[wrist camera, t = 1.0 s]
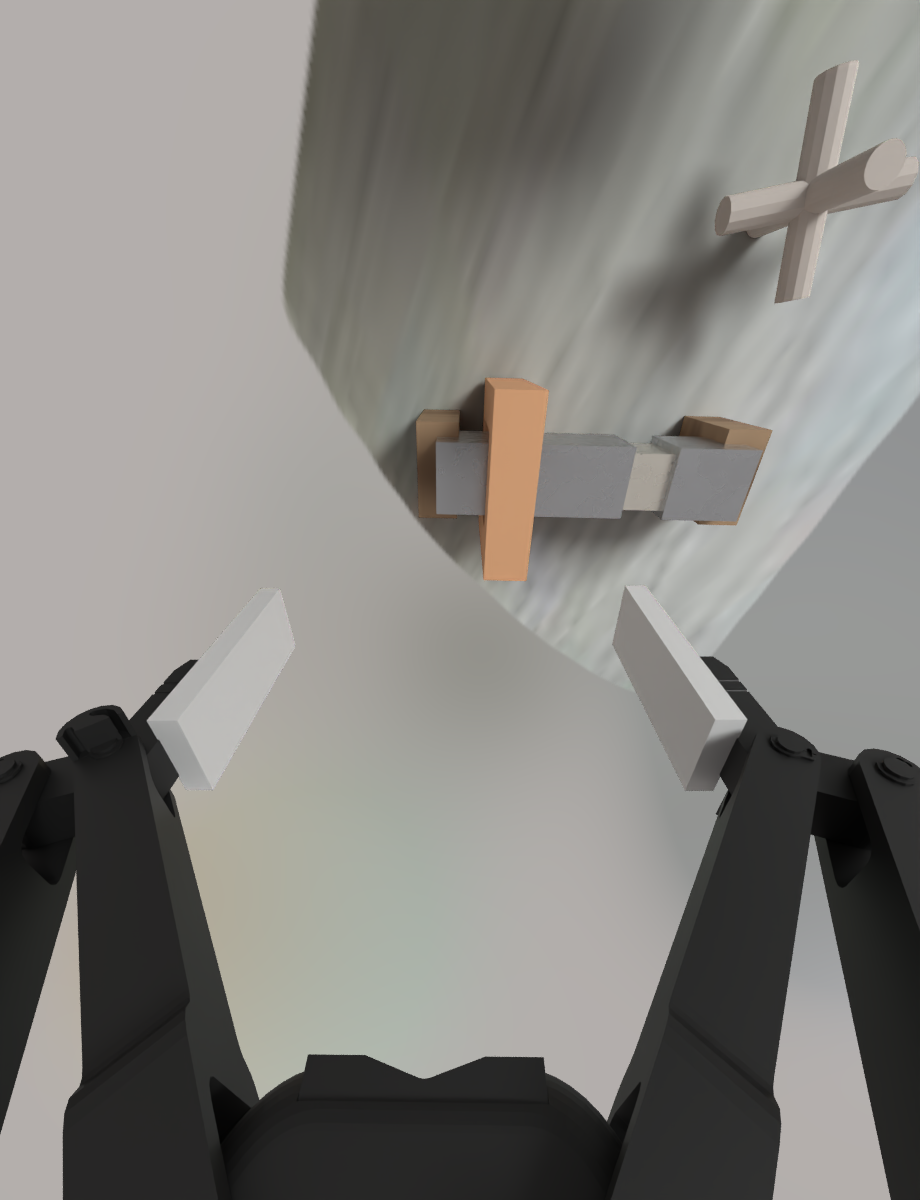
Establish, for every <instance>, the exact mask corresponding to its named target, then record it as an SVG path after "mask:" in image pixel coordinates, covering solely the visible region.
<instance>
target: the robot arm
mask: <svg viewBox="0 0 920 1200" xmlns="http://www.w3.org/2000/svg"><path fill="white" fill-rule="evenodd" d="M612 645H613V647H614V649H615V651H616V653H617V655H618V657H619V659H620V661H621V663H622V665H623V667H624V669H625V671H626V673H627V675H628V677H629V679H630V681H631V683H632V685H633V687H634V689H635V691H636V693H637V695H638V697H639V699H640V701H641V703H642V705H643V707H644V709H645V711H646V713H647V715H648V717H649V719H650V721H651V723H652V725H653V727H654V729H655V731H656V733H657V735H658V737H659V739H660V741H661V743H662V745H663V747H664V749H665V751H666V753H667V755H668V757H669V759H670V761H671V763H672V765H673V767H674V769H675V771H676V773H677V775H678V777H679V779H680V781H681V783H682V785H683V787H684V789H685V790H686V791H713V790H714V788H715V786H716V784H717V782H718V780H719V778H720V777H721V778H722V780H723V782H724V783H725V785H726V787H727V788H728V791H727V793H726V795H725V797H724V799H723V801H722V803H721V805H720V807H719V809H718V811H717V813H716V814H717V815H718V817H717V820H716V822H715V825H714V828H713V831H712V834H711V837H710V840H709V842H708V845H707V848H706V851H705V854H704V857H703V859H702V862H701V865H700V868H699V871H698V873H697V876H696V880H695V882H694V885H693V888H692V890H691V893H690V896H689V899H688V902H687V905H686V908H685V910H684V913H683V916H682V919H681V922H680V925H679V928H678V931H677V933H676V936H675V939H674V942H673V945H672V947H671V950H670V953H669V956H668V959H667V961H666V964H665V968H664V970H663V973H662V976H661V978H660V982H659V985H658V987H657V990H656V993H655V996H654V999H653V1001H652V1004H651V1007H650V1010H649V1012H648V1016H647V1018H646V1021H645V1024H644V1027H643V1030H642V1032H641V1035H640V1039H639V1041H638V1044H637V1046H636V1049H635V1052H634V1054H633V1057H632V1059H631V1062H630V1064H629V1067H628V1069H627V1071H626V1073H625V1075H624V1078H623V1080H622V1083H621V1085H620V1088H619V1090H618V1093H617V1096H616V1098H615V1101H614V1104H613V1106H612V1109H611V1112H610V1115H609V1117H608V1120H607V1121H606V1120H605V1119H604V1118H603V1116H602V1115H601V1114H600V1113H599V1111H598V1110H597V1109H596V1108H595V1107H593V1105H592V1104H591V1103H590V1102H589V1101H588V1100H587V1099H586V1098H585V1097H583V1096H582V1095H581V1094H580V1093H579V1092H577V1091H576V1090H575V1089H574V1088H572V1087H571V1086H570V1085H568V1084H566V1083H565V1082H563V1081H561V1080H560V1079H558V1078H556V1077H554V1076H551V1075H549V1074H547V1073H545V1066H544V1058H543V1057H542V1058H541V1057H483V1058H481V1059H478V1060H476V1061H473V1062H470V1063H468V1064H465V1065H463V1066H460V1067H457V1068H455V1069H452V1070H449V1071H447V1072H444V1073H441V1074H439V1075H436V1076H434V1077H431V1078H428V1079H421V1078H418V1077H415V1076H413V1075H410V1074H408V1073H406V1072H403V1071H401V1070H399V1069H396V1068H394V1067H392V1066H389V1065H387V1064H385V1063H382V1062H380V1061H378V1060H375V1059H373V1058H371V1057H368V1056H366V1055H308V1057H307V1062H306V1067H305V1071H304V1072H302V1073H299V1074H297V1075H295V1076H293V1077H291V1078H289V1079H288V1080H286V1081H284V1082H282V1083H281V1084H279V1085H278V1086H277V1087H275V1088H274V1089H273V1090H271V1091H270V1092H268V1093H267V1094H266V1095H265V1096H264V1097H263V1098H262V1099H260V1100H259V1097H258V1094H257V1091H256V1087H255V1084H254V1081H253V1079H252V1076H251V1073H250V1072H249V1069H248V1067H247V1065H246V1062H245V1060H244V1058H243V1056H242V1053H241V1050H240V1047H239V1044H238V1040H237V1036H236V1032H235V1029H234V1026H233V1021H232V1017H231V1013H230V1009H229V1006H228V1002H227V998H226V994H225V990H224V986H223V982H222V978H221V975H220V971H219V967H218V963H217V959H216V955H215V951H214V948H213V944H212V940H211V936H210V932H209V928H208V924H207V920H206V917H205V913H204V909H203V906H202V901H201V898H200V893H199V890H198V886H197V882H196V878H195V874H194V871H193V867H192V862H191V859H190V855H189V851H188V847H187V843H186V839H185V835H184V832H183V828H182V824H181V820H180V817H179V812H178V809H177V805H176V801H175V797H174V795H173V793H172V792H171V790H170V789H171V787H172V786H173V784H174V782H175V781H176V779H177V778H178V777H179V778H180V780H181V782H182V784H183V785H184V787H185V789H186V790H213V789H214V788H215V786H216V784H217V782H218V780H219V779H220V777H221V775H222V774H223V772H224V770H225V768H226V767H227V765H228V763H229V761H230V759H231V758H232V756H233V754H234V752H235V751H236V749H237V747H238V746H239V744H240V742H241V740H242V739H243V737H244V735H245V733H246V732H247V730H248V728H249V726H250V725H251V723H252V721H253V719H254V718H255V716H256V714H257V712H258V711H259V709H260V707H261V705H262V704H263V702H264V700H265V698H266V697H267V695H268V693H269V691H270V690H271V688H272V686H273V684H274V683H275V681H276V679H277V678H278V676H279V674H280V672H281V671H282V669H283V667H284V665H285V664H286V662H287V660H288V658H289V656H290V655H291V653H292V651H293V650H294V648H295V646H296V645H295V642H294V638H293V634H292V630H291V627H290V623H289V619H288V616H287V612H286V609H285V605H284V601H283V597H282V594H281V590H280V588H260V589H259V590H258V591H257V593H256V594H255V595H254V596H253V597H252V599H251V600H250V601H249V602H248V603H247V604H246V605H245V607H244V608H243V609H242V610H241V611H240V612H239V614H238V615H237V616H236V617H235V618H234V620H233V621H232V622H231V623H230V624H229V625H228V626H227V628H226V629H225V630H224V631H223V632H222V633H221V635H220V636H219V637H218V638H217V639H216V641H215V642H214V643H213V644H212V645H211V646H210V647H209V649H208V650H207V651H206V652H205V653H204V654H203V655H202V657H201V658H200V659H199V660H189V661H188V662H187V663H185V664H183V665H182V666H180V667H179V668H177V669H176V670H174V671H173V673H172V674H171V675H170V676H169V677H168V678H167V679H166V680H165V681H164V684H163V685H161V686H160V687H159V688H158V689H157V690H156V692H155V694H154V695H152V696H151V697H150V698H149V699H148V700H147V701H146V702H145V703H144V705H143V706H142V707H141V708H140V709H139V710H138V711H137V712H136V713H135V715H134V716H133V717H132V718H131V719H130V720H128V718H127V717H126V715H125V713H124V712H123V710H122V709H121V708H120V707H118V706H114V705H107V706H100V707H97V708H93V709H90V710H88V711H85V712H83V713H81V714H79V715H77V716H76V717H74V718H73V719H71V720H70V721H69V722H67V723H66V724H65V725H64V726H63V727H62V728H61V729H60V730H59V732H58V734H57V737H56V740H57V742H58V743H59V744H60V745H61V747H62V748H63V749H64V751H65V752H66V753H67V755H68V757H64V758H60V759H56V760H51V761H48V762H44V761H43V759H42V758H41V757H40V756H39V755H38V754H37V753H36V752H35V751H29V750H24V751H19V752H14V753H11V754H9V755H6V756H3V757H1V758H0V1133H1V1130H2V1126H3V1123H4V1119H5V1116H6V1112H7V1109H8V1105H9V1102H10V1098H11V1095H12V1091H13V1088H14V1085H15V1081H16V1078H17V1074H18V1071H19V1067H20V1064H21V1060H22V1057H23V1053H24V1050H25V1046H26V1043H27V1039H28V1036H29V1032H30V1029H31V1026H32V1022H33V1018H34V1015H35V1012H36V1008H37V1004H38V1001H39V998H40V994H41V991H42V987H43V984H44V980H45V977H46V973H47V970H48V966H49V963H50V959H51V956H52V953H53V949H54V946H55V942H56V939H57V935H58V932H59V928H60V925H61V921H62V918H63V915H64V911H65V908H66V904H67V901H68V897H69V894H70V890H71V887H72V883H73V880H74V876H75V873H76V874H77V904H78V905H77V906H78V938H79V970H80V1002H81V1031H82V1032H81V1034H82V1067H83V1068H82V1080H81V1083H80V1087H79V1088H78V1089H77V1090H76V1091H75V1092H74V1094H73V1095H72V1096H71V1097H70V1098H69V1100H68V1104H67V1107H66V1110H65V1113H64V1125H63V1200H772V1199H773V1191H774V1184H775V1176H776V1168H777V1160H778V1153H779V1145H780V1132H781V1118H780V1108H779V1106H778V1104H777V1102H776V1100H775V1098H774V1093H773V1082H774V1073H775V1067H776V1060H777V1054H778V1047H779V1040H780V1033H781V1027H782V1020H783V1014H784V1007H785V1000H786V994H787V987H788V980H789V974H790V967H791V961H792V954H793V947H794V941H795V934H796V928H797V920H798V914H799V907H800V900H801V894H802V888H803V881H804V875H805V868H806V861H807V855H808V848H809V841H810V835H814V836H815V841H816V846H817V851H818V855H819V860H820V865H821V870H822V875H823V879H824V884H825V889H826V893H827V898H828V903H829V908H830V912H831V917H832V922H833V927H834V932H835V936H836V941H837V946H838V951H839V955H840V960H841V965H842V970H843V974H844V979H845V984H846V989H847V993H848V998H849V1002H850V1008H851V1012H852V1017H853V1022H854V1026H855V1031H856V1036H857V1041H858V1045H859V1050H860V1055H861V1060H862V1064H863V1069H864V1074H865V1078H866V1083H867V1088H868V1093H869V1098H870V1102H871V1107H872V1112H873V1117H874V1121H875V1126H876V1131H877V1135H878V1140H879V1145H880V1150H881V1155H882V1159H883V1164H884V1169H885V1174H886V1178H887V1183H888V1188H889V1193H890V1197H891V1200H920V768H919V767H918V766H916V765H915V764H914V763H912V762H910V761H908V760H907V759H905V758H903V757H901V756H899V755H896V754H893V753H891V752H888V751H884V750H879V749H867V750H863V751H862V752H861V753H860V754H859V755H858V756H857V758H856V759H855V760H849V759H845V758H841V757H837V756H832V755H828V754H824V753H820V752H818V751H817V749H816V748H815V747H814V745H812V744H811V743H810V742H809V741H808V740H806V739H805V738H804V737H802V736H800V735H798V734H797V733H795V732H793V731H790V730H787V729H784V728H780V727H777V725H776V724H775V723H774V722H773V721H772V719H771V718H770V717H769V716H768V714H766V712H765V711H764V710H763V709H762V707H761V706H760V705H759V704H758V703H757V701H756V700H755V699H754V698H753V696H752V695H751V694H750V693H749V692H747V689H746V688H745V687H744V685H743V684H742V683H741V682H739V681H738V678H737V677H736V676H735V675H734V673H733V672H732V671H731V670H730V668H729V667H727V666H726V665H724V664H723V663H722V662H720V661H719V660H717V659H716V658H714V657H700V656H699V655H698V654H697V653H696V651H695V650H694V649H693V647H692V646H691V645H690V643H689V642H688V641H687V639H686V638H685V637H684V635H683V634H682V633H681V632H680V630H679V629H678V628H677V626H676V625H675V624H674V622H673V621H672V620H671V618H670V617H669V616H668V614H667V613H666V612H665V610H664V609H663V608H662V607H661V605H660V604H659V603H658V601H657V600H656V599H655V597H654V596H653V595H652V593H651V592H650V591H649V589H648V588H647V587H646V586H625V588H624V593H623V597H622V602H621V607H620V611H619V616H618V621H617V625H616V630H615V634H614V639H613V644H612Z"/></svg>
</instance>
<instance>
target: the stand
mask: <svg viewBox="0 0 920 1200" xmlns="http://www.w3.org/2000/svg"><path fill="white" fill-rule="evenodd" d="M459 426H460V410H426V409H424V411H423V412H422V413H421V415H420V416H419V418H418V419H417V421H416V438H417V472H418V507H419V517H421V518H457V515H452V514H436V440H437V437H459ZM771 433H772V430H769V429H765V428H761V427H757V426H753V425H749V424H745V423H741V422H737V421H733V420H729V419H725V418H721V417H697V416H684V420H683V423H682V427H681V431H680V434H679V436H687V437H706V438H709V439H711V440H714V441H717V442H720V443H723V444H734V445H748V446H751V447H754V448H757V449H760V450H763V452H762V455H761V457H760V460H759V463H758V465H757V468H756V471H755V473H754V476H753V479H752V481H751V484H750V487H749V489H748V492H747V494H746V497H745V500H744V502H743V505H742V508H741V510H740V513H739V516H738V518H737V521H736V522H735V521H695V522H696V523H697V524H705V525H737V522H738V520H739V517H740V515H741V512H742V509H743V507H744V504H745V501H746V499H747V496H748V493H749V491H750V488H751V486H752V483H753V480H754V478H755V475H756V472H757V470H758V467H759V465H760V462H761V459H762V457H763V454H764V451H765V449H766V446H767V443H768V441H769V438H770V436H771ZM693 521H694V520H693Z"/></svg>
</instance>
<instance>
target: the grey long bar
mask: <svg viewBox="0 0 920 1200" xmlns="http://www.w3.org/2000/svg"><path fill="white" fill-rule="evenodd" d="M488 450H489V431H459V437H437V440H436V514H452V515H485V504H486V486H487V468H488ZM762 452H763V450H760V449H757V448H754V447H751V446H748V445H734V444H723V443H720V442H717V441H714V440H711V439H709V438H706V437H687V436H652V440H651V444H649V443H628V442H626V441H625V440H623V439H621V438H619V437H617V436H616V435H609V434H570V433H544V435H543V444H542V452H541V461H540V469H539V478H538V486H537V495H536V503H535V512H534V517H573V518H614V519H621V515H622V510H647V511H652V512H653V513H654V514H655V515H657V516H658V517H659V518H660V519H661V520H694V521H735V522H736V521H737V518H738V516H739V513H740V510H741V508H742V505H743V502H744V500H745V497H746V494H747V492H748V489H749V487H750V484H751V481H752V479H753V476H754V473H755V471H756V468H757V465H758V463H759V460H760V457H761V455H762Z"/></svg>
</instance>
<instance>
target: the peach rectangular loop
mask: <svg viewBox="0 0 920 1200" xmlns="http://www.w3.org/2000/svg"><path fill="white" fill-rule="evenodd" d="M548 393H549V390H547V389H544V388H542V387H540V386H538V385H536V384H533V383H531V382H529V381H527V380H524V379H514V378H485V396H484V417H483V431H489V450H488V468H487V486H486V504H485V515H479V532H480V543H481V555H482V566H483V578H484V580H503V581H526V580H527V571H528V563H529V554H530V546H531V537H532V529H533V520H534V512H535V503H536V495H537V486H538V478H539V469H540V461H541V452H542V444H543V435H544V427H545V418H546V410H547V401H548Z"/></svg>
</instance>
